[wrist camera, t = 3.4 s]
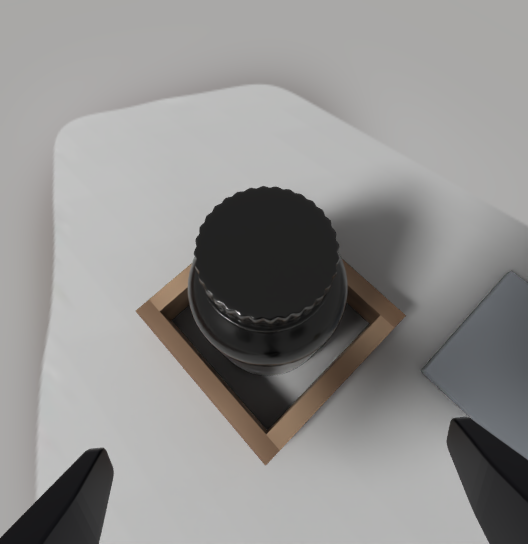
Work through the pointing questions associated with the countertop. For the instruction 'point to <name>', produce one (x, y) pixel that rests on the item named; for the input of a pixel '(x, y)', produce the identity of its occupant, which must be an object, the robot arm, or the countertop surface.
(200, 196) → the countertop surface
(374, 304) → the walnut holder
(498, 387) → the slate mat
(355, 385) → the countertop surface
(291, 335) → the supplement bottle
